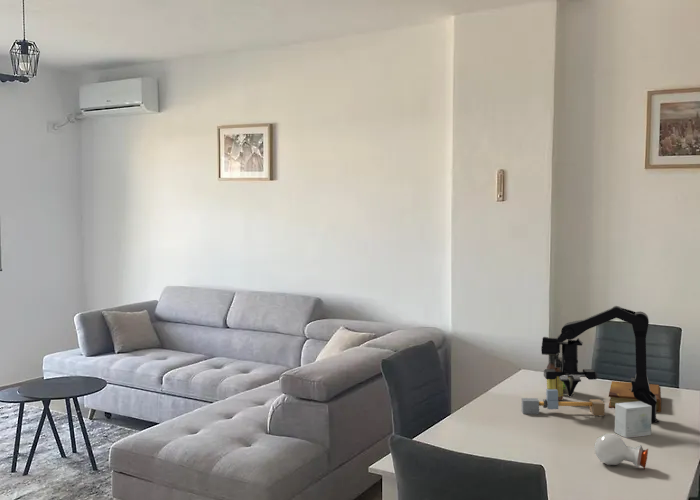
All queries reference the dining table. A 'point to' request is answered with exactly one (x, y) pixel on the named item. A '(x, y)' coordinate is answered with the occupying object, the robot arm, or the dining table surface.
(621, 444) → the potion bottle
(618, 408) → the skincare box
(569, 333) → the robot arm
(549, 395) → the notched blue-grey block
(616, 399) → the diary
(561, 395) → the sauce bottle
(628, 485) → the dining table surface
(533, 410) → the rail
